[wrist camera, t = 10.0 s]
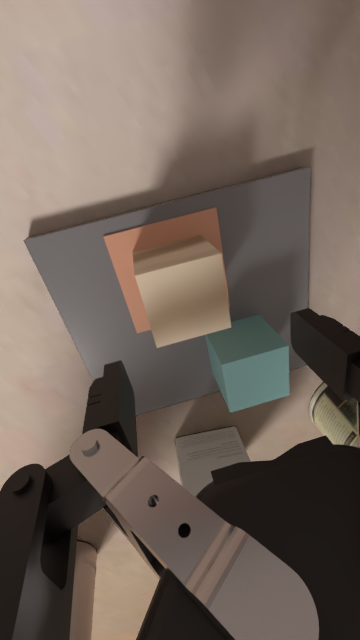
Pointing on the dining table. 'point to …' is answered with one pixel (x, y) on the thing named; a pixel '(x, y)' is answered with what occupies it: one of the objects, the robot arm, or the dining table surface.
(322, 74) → the dining table surface
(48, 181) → the dining table surface
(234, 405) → the teal block
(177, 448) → the supplement box
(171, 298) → the ash block
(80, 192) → the dining table surface
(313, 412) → the coffee can
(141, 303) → the baseplate
